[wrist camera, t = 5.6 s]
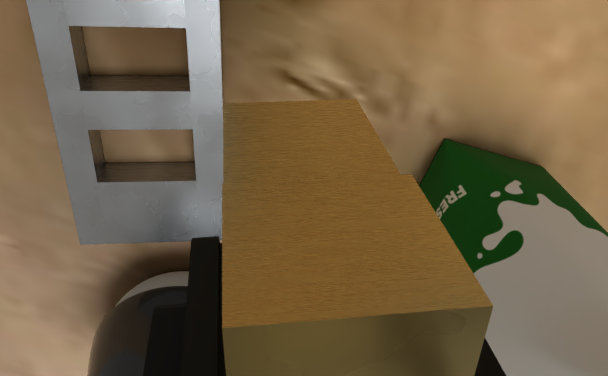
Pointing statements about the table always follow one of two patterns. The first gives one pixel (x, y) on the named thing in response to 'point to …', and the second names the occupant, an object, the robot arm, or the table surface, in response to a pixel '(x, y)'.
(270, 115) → the tan wooden block
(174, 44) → the table surface
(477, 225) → the milk carton
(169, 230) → the grey flat board
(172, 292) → the pump dispenser
